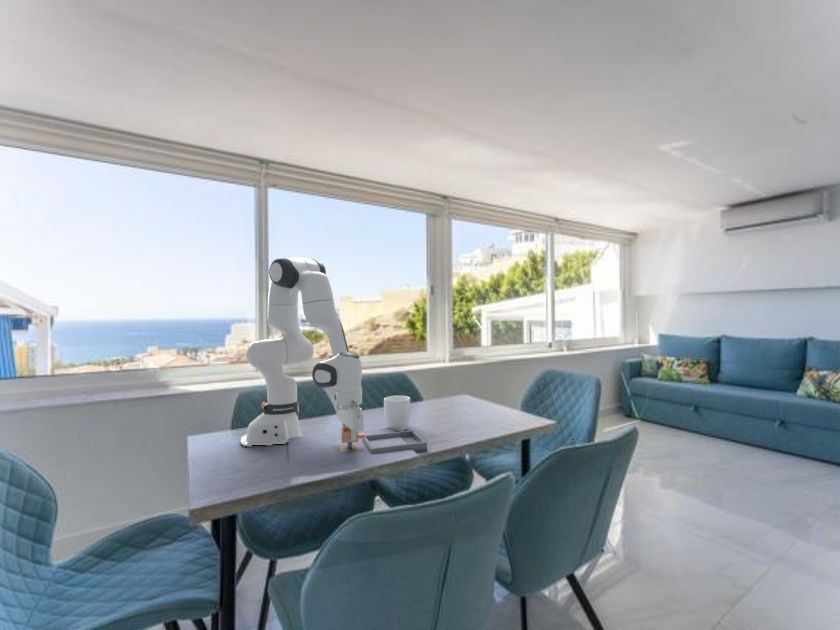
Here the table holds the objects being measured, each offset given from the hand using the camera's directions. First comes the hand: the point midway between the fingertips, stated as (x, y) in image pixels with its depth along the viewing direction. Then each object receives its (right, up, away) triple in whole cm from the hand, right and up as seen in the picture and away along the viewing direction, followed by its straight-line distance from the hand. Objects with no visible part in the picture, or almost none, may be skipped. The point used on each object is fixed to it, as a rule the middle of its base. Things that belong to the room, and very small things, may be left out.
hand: (349, 437), depth 150 cm
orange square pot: (0, -5, 0) cm, 5 cm away
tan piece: (+1, -1, 0) cm, 2 cm away
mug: (+16, -5, +28) cm, 33 cm away
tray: (+15, -5, +5) cm, 17 cm away
